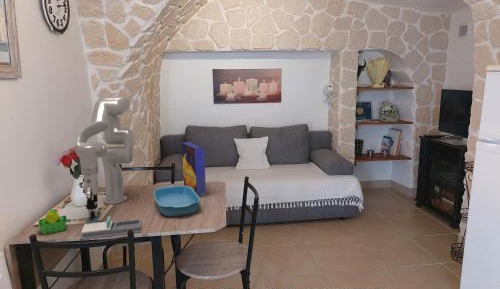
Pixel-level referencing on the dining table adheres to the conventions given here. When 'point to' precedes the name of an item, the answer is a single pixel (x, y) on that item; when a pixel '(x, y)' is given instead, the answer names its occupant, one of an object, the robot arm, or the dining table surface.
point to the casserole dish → (176, 200)
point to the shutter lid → (97, 226)
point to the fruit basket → (52, 222)
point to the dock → (115, 229)
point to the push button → (93, 215)
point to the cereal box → (194, 167)
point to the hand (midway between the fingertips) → (92, 205)
